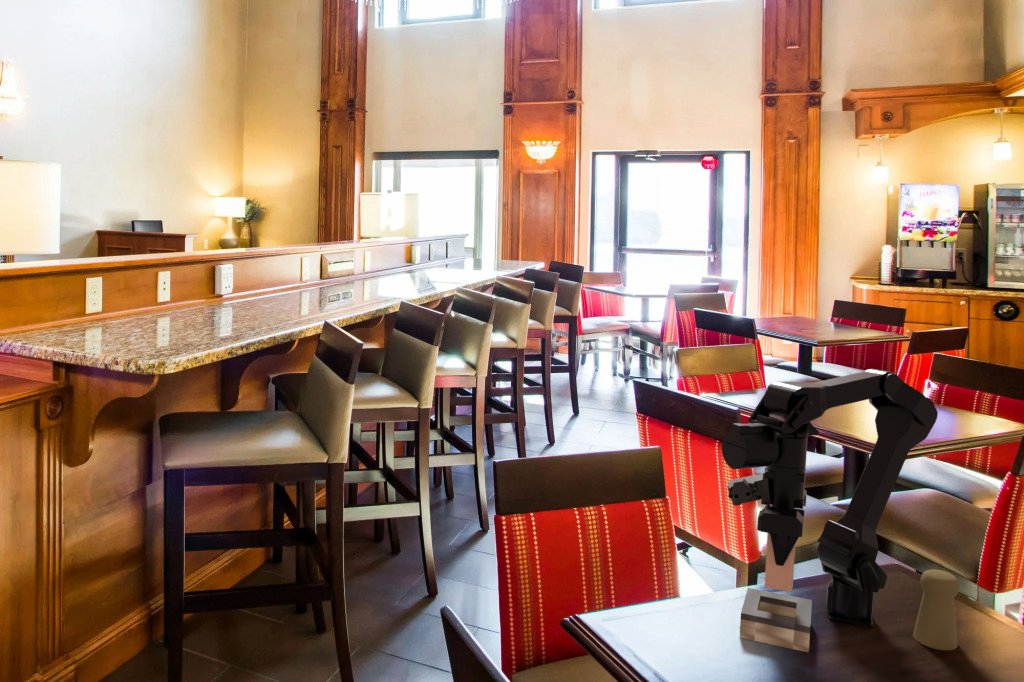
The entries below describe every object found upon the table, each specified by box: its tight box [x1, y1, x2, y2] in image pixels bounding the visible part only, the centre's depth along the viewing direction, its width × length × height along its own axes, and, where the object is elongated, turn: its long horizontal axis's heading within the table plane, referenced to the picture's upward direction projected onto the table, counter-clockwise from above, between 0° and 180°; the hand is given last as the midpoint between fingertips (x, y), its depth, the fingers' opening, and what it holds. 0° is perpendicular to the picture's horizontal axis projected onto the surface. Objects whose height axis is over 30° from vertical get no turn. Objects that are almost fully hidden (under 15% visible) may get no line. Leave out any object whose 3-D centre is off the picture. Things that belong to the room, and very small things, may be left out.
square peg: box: [764, 533, 796, 593], centre depth 114 cm, size 4×4×10 cm
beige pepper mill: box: [912, 569, 960, 651], centre depth 112 cm, size 6×6×11 cm
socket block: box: [739, 587, 813, 653], centre depth 115 cm, size 10×10×4 cm
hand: (780, 560), depth 114 cm, fingers closed on square peg, 4 cm apart
